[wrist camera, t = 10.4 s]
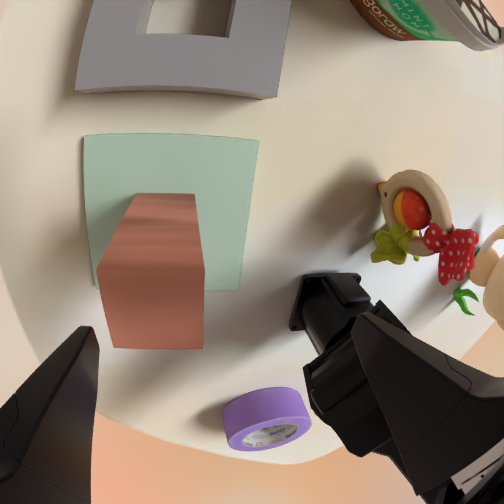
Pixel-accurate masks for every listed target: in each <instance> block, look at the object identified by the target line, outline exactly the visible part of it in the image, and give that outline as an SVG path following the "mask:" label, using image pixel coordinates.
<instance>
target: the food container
mask: <svg viewBox="0 0 504 504" xmlns="http://www.w3.org/2000/svg"><path fill="white" fill-rule="evenodd" d="M350 1H351V3H352V4H353V6H354V7H355V8H356V10H357V11H358V13H359V14H360V15H361V16H362V17H363V18H364V19H365V20H366V21H367V22H368V23H369V24H370V25H371V26H372V27H373V28H374V29H376V30H377V31H378V32H380V33H382V34H383V35H385V36H387V37H389V38H392V39H395V40H400V41H412V40H439V41H458V42H461V43H462V44H464V45H465V46H467V47H468V48H470V49H473V50H475V51H484V50H489V49H494V48H498V47H499V46H500V45H503V44H504V27H499V26H498V25H497V22H496V21H495V20H494V18H493V17H492V16H491V14H490V13H489V12H488V10H487V9H486V7H485V6H484V5H483V3H482V2H481V0H350Z"/></svg>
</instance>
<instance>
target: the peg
mask: <svg viewBox="0 0 504 504" xmlns="http://www.w3.org/2000/svg"><path fill="white" fill-rule="evenodd" d="M96 273H97V278H98V284H99V289H100V294H101V299H102V303H103V308H104V312H105V316H106V321H107V324H108V328H109V332H110V336H111V340H112V343H113V347H114V348H130V349H203V310H204V286H205V267H204V260H203V253H202V246H201V239H200V232H199V224H198V216H197V208H196V200H195V194H186V193H137V194H136V196H135V197H134V199H133V201H132V203H131V204H130V206H129V208H128V209H127V211H126V213H125V215H124V216H123V218H122V220H121V222H120V224H119V225H118V227H117V229H116V231H115V233H114V235H113V237H112V238H111V240H110V242H109V244H108V246H107V248H106V250H105V252H104V254H103V256H102V258H101V260H100V262H99V264H98V266H97V269H96Z"/></svg>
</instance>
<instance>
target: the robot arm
mask: <svg viewBox="0 0 504 504" xmlns="http://www.w3.org/2000/svg"><path fill="white" fill-rule="evenodd" d="M356 278H357V279H356ZM308 279H309V280H308ZM355 279H356V280H355ZM306 280H308V281H307V282H306ZM360 281H361V276H360V275H359V274H357V273H356V274H349V273H327V274H314V275H305V276H304V277H303V278H302V280H301V284H300V287H299V291H298V295H297V298H296V302H295V305H294V309H293V312H292V316H291V319H290V323H289V328H290V330H291V331H300V330H305V331H306V333H307V335H308V337H309V339H310V340H311V342H312V344H313V346H314V348H315V350H316V351H317V353H318V355H319V356H318V357H317V358H315V359H314V360H313V361H312V362H310V363H309V364H306V365H305V366H304V367H303V372H304V377H305V382H306V387H307V392H308V397H309V402H310V406H311V409H312V410H313V411H314V413H315V414H316V415H317V416H318V417H319V418H320V419H321V420H322V421H323V422H324V423H325V424H327V425H329V426H331V428H332V429H333V430H334V431H335V432H336V433H337V435H338V436H339V438H340V439H341V441H342V442H343V444H344V445H345V447H346V448H347V450H348V451H349V452H350V453H352V454H354V455H356V456H358V457H363V456H365V455H367V454H368V453H370V452H373V453H377V454H380V455H384V456H388V457H389V458H390V459H391V460H392V461H393V462H394V464H395V465H396V466H397V468H398V469H399V470H400V471H401V473H402V474H403V475H404V476H405V478H406V479H407V480H408V481H409V483H410V484H411V485H412V486H413V489H414V492H415V494H416V496H418V495H420V496H421V498H422V499H423V500H424V501H425V503H426V504H504V377H502V378H499V377H494V376H491V375H489V374H486V373H484V372H482V371H480V370H477V369H475V368H473V367H471V366H468V365H466V364H464V363H462V362H460V361H458V360H456V359H454V358H453V357H451V356H449V355H447V354H445V353H443V352H441V351H440V350H438V349H436V348H434V347H432V346H430V345H429V344H427V343H425V342H423V341H421V340H419V339H418V338H416V337H414V336H412V334H411V333H410V332H409V331H408V330H407V329H406V327H405V326H404V325H403V324H402V323H401V322H400V321H399V320H398V318H397V317H396V316H395V315H394V314H393V313H392V312H391V311H390V310H389V309H388V308H387V306H386V305H385V304H384V303H383V302H382V301H381V300H379V301H378V302H377V303H376V305H375V306H373V305H372V303H371V302H370V300H371V298H370V296H369V295H368V294H367V292H366V291H365V290H364V289H363V288H362V287H361V286H360V285H359V284H360ZM293 326H294V327H293ZM99 352H100V350H99V344H98V341H97V338H96V335H95V332H94V329H93V328H92V327H91V326H80V327H78V328H77V329H76V330H75V331H74V332H73V333H72V334H71V335H70V336H69V337H68V338H67V339H66V340H65V341H64V342H63V343H62V344H61V345H60V346H59V347H58V348H57V349H56V350H55V351H54V352H53V353H52V354H51V355H50V356H49V357H48V358H47V359H46V360H45V361H44V362H43V363H42V364H41V365H40V366H39V367H38V368H37V369H36V370H35V371H34V372H33V373H32V375H30V377H29V378H28V379H27V380H26V381H25V382H24V383H23V384H22V385H21V386H20V387H19V388H18V390H17V391H16V392H15V393H16V394H15V393H14V394H13V395H12V396H11V397H10V398H9V400H8V401H7V402H6V403H5V404H4V405H3V406H2V407H1V408H0V504H91V452H92V436H93V426H94V415H95V407H96V400H97V388H98V367H99Z"/></svg>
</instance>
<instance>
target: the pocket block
mask: <svg viewBox="0 0 504 504" xmlns="http://www.w3.org/2000/svg"><path fill="white" fill-rule="evenodd" d="M291 2H292V0H232V2H231V7H230V12H229V17H228V22H227V27H226V32H225V37H216V36H205V35H191V34H145V32H146V28H147V23H148V19H149V15H150V11H151V8H152V4H153V0H94V2H93V5H92V8H91V11H90V15H89V18H88V22H87V26H86V30H85V34H84V38H83V42H82V47H81V52H80V57H79V62H78V68H77V74H76V81H75V89H74V91H80V92H85V93H90V94H91V93H102V92H116V91H144V90H161V91H190V92H204V93H216V94H226V95H234V96H242V97H249V98H256V99H262V100H264V99H269V98H274V97H277V93H278V87H279V81H280V74H281V67H282V61H283V54H284V48H285V41H286V35H287V28H288V22H289V15H290V9H291Z"/></svg>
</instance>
